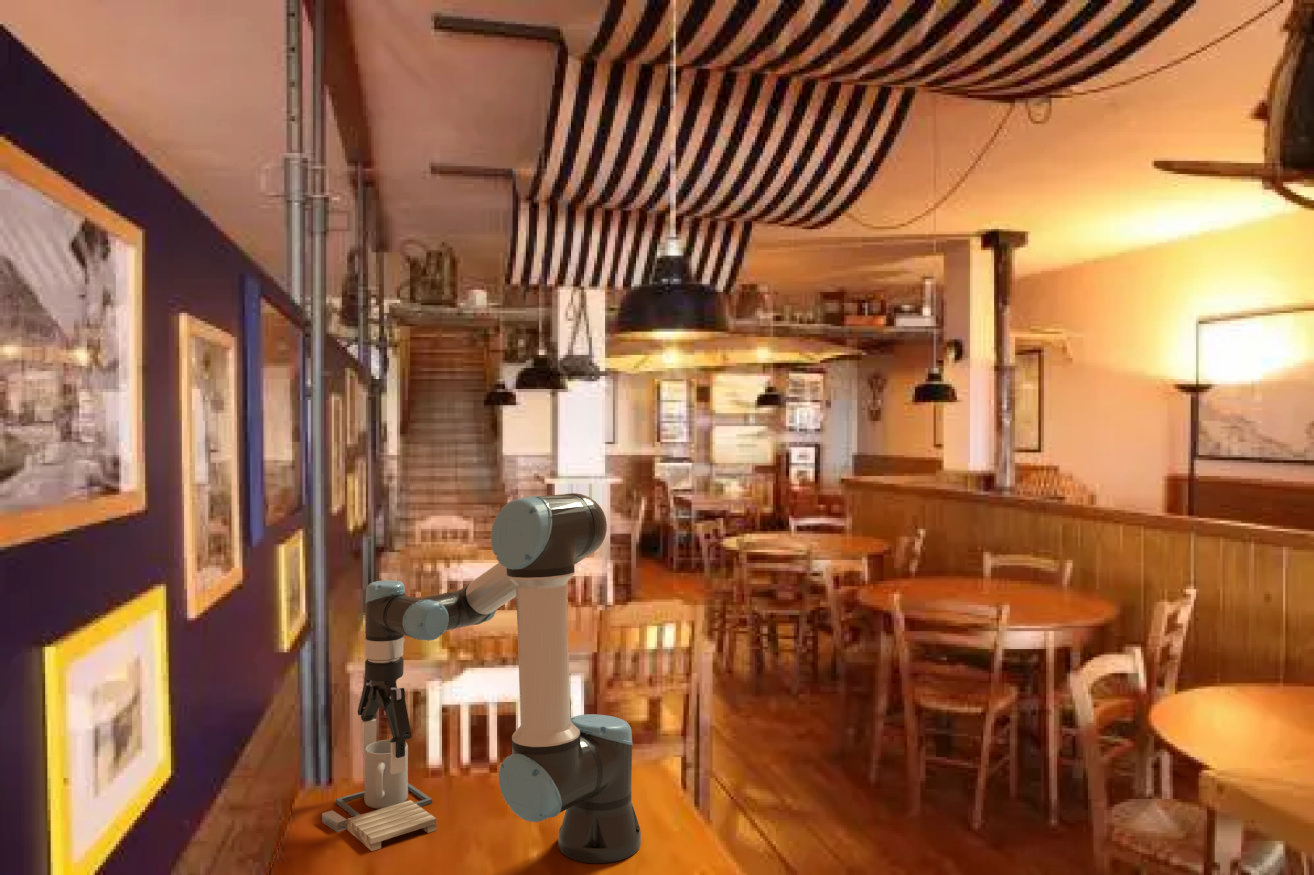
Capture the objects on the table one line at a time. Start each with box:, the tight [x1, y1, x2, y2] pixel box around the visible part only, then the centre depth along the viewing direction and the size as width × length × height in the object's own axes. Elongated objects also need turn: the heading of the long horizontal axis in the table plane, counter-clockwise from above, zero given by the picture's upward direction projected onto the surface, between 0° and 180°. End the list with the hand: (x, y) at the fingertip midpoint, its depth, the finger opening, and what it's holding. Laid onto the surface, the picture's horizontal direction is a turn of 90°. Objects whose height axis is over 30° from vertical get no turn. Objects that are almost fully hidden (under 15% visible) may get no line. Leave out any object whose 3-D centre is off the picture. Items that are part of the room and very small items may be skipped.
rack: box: [346, 799, 438, 852], centre depth 168 cm, size 11×13×2 cm
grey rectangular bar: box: [321, 810, 348, 833], centre depth 170 cm, size 6×2×2 cm, turn 47°
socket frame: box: [335, 782, 433, 817], centre depth 180 cm, size 13×15×1 cm
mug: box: [363, 739, 409, 809], centre depth 180 cm, size 12×8×11 cm
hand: (383, 761), depth 180 cm, fingers open, 13 cm apart
